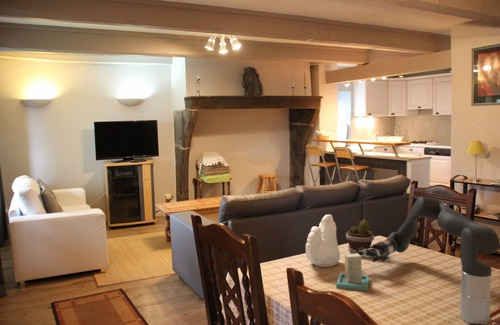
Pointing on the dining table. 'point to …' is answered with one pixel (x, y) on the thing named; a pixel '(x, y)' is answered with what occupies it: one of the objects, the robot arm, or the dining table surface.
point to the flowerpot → (359, 237)
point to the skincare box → (353, 268)
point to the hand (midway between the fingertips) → (364, 257)
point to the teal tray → (358, 286)
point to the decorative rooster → (323, 243)
